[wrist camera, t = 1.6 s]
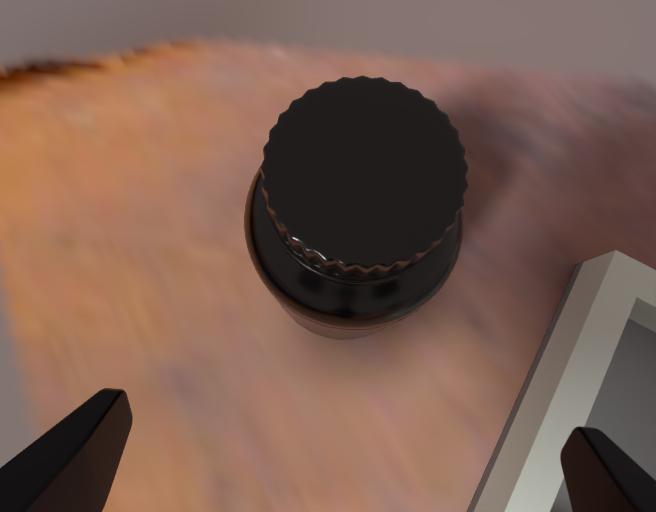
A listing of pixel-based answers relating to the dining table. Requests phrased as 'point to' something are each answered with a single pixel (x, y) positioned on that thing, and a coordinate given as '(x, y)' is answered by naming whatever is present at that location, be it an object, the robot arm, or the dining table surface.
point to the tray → (581, 387)
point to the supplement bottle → (357, 206)
